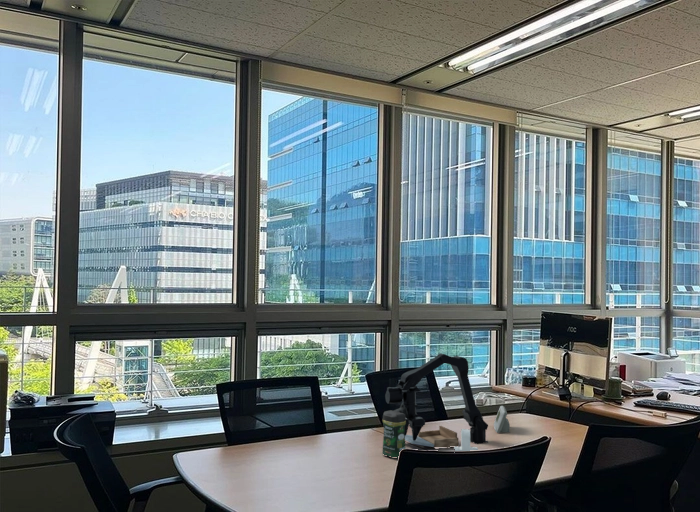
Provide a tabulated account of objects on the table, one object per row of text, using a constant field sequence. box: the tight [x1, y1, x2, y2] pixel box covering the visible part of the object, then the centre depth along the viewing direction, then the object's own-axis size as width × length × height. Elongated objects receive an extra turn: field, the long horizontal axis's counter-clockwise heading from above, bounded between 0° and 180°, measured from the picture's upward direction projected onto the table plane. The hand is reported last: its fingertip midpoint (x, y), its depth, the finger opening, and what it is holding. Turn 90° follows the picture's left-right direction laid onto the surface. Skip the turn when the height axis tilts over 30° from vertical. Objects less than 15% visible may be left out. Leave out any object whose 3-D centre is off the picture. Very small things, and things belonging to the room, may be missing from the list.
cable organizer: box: [453, 428, 479, 451], centre depth 261 cm, size 5×10×10 cm, turn 84°
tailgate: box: [405, 434, 434, 448], centre depth 271 cm, size 1×15×11 cm
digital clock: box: [493, 405, 511, 434], centre depth 302 cm, size 16×9×11 cm, turn 159°
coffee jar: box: [381, 409, 407, 458], centre depth 256 cm, size 10×8×19 cm
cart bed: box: [418, 425, 459, 447], centre depth 276 cm, size 11×16×6 cm
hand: (409, 437), depth 270 cm, fingers open, 9 cm apart
